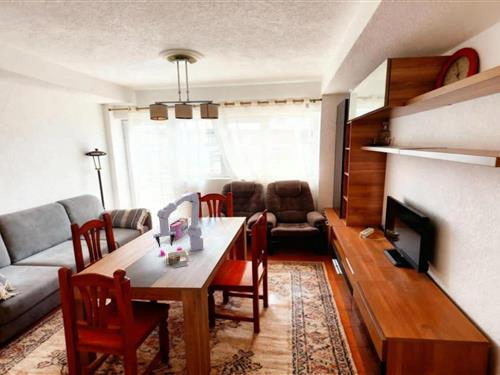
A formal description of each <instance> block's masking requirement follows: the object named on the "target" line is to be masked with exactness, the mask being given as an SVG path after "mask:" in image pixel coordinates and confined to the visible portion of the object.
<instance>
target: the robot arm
mask: <svg viewBox="0 0 500 375" xmlns="http://www.w3.org/2000/svg"><path fill="white" fill-rule="evenodd" d="M199 197H200V196H199V194H198V193H197V192H191V191H185V192H184V193H182V194H181V196H180V197H179V198H178V199H176V200H175V201H174V202H169V203H168V204H167V205H166V206H165V207H163V209H159V210H158V211H157V214H156V216H157V218H158V222H159V232H158V233H155V234H153V236H152V237H153V239H155V240H156V243H157V244H158V248H161V242H160V237H161V238H163V237H169V239H170V238H171V239H170V246H171V247H172V246H173V243H174V240H175V239H174V237H175V235H176V232H170V223H169V218H170V217H171V214H172V213H173V212H175V211H176V210H177V209H178V207H179V206H180V205H181V204H183V203H184V202H189V204H191V210H190V211H191V214H190V225H188V233H187V235H188V236H189V242H190V244H189V250H190V251H191V252H192V251H193V252H194V251H199V250H204V238H203V236H202V234H203V232H202V227H201V226H200V224H199V218H200V215H199V214H200V200H199Z"/></svg>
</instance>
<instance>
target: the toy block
mask: <svg viewBox="0 0 500 375" xmlns="http://www.w3.org/2000/svg"><path fill="white" fill-rule="evenodd" d="M176 248H177V249H176V251H180V250H183V247H182V246H177V247H176ZM159 252H160V256H161V257H162V256H166V252H165V251H164V250H163V249H162V250H160V251H159Z"/></svg>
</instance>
